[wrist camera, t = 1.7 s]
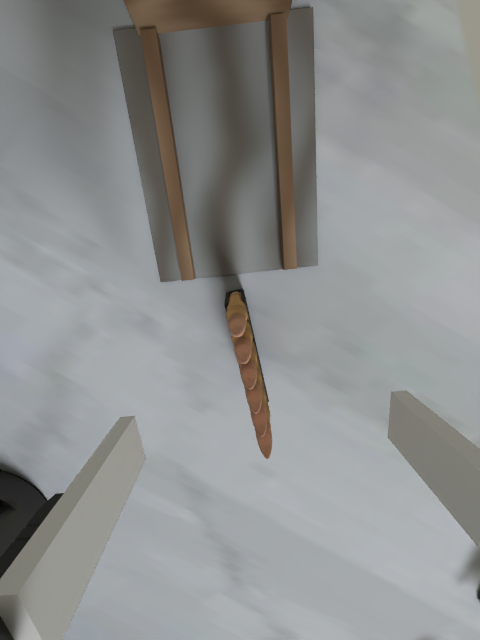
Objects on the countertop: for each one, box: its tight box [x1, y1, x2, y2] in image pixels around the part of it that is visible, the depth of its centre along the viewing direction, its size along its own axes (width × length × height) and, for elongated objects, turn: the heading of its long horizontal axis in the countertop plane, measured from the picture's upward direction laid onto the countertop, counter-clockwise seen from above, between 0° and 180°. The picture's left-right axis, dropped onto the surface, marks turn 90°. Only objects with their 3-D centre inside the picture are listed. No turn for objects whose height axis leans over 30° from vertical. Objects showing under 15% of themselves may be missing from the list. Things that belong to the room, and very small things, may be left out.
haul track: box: [113, 0, 318, 282], centre depth 18 cm, size 16×24×6 cm
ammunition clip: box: [225, 289, 272, 459], centre depth 20 cm, size 11×2×12 cm, turn 13°
